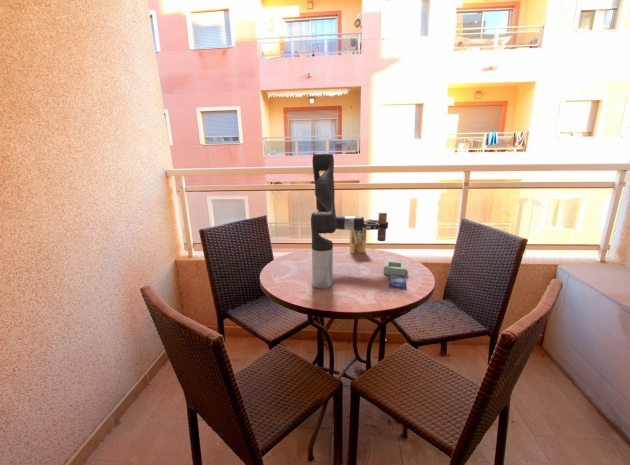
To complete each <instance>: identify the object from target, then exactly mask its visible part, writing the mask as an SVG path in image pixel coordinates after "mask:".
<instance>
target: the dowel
mask: <svg viewBox="0 0 630 465" xmlns="http://www.w3.org/2000/svg"><path fill="white" fill-rule="evenodd" d="M387 216H388V213H386V212H379V213H378V219H377V220H378V223H379V224H386V222H388V221H387V220H388V219H387V218H388V217H387ZM386 235H387V229H383V228H380V229H378V230H377V239H376V240H377V241H378V242H385V241H386V238H387V237H386Z"/></svg>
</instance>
